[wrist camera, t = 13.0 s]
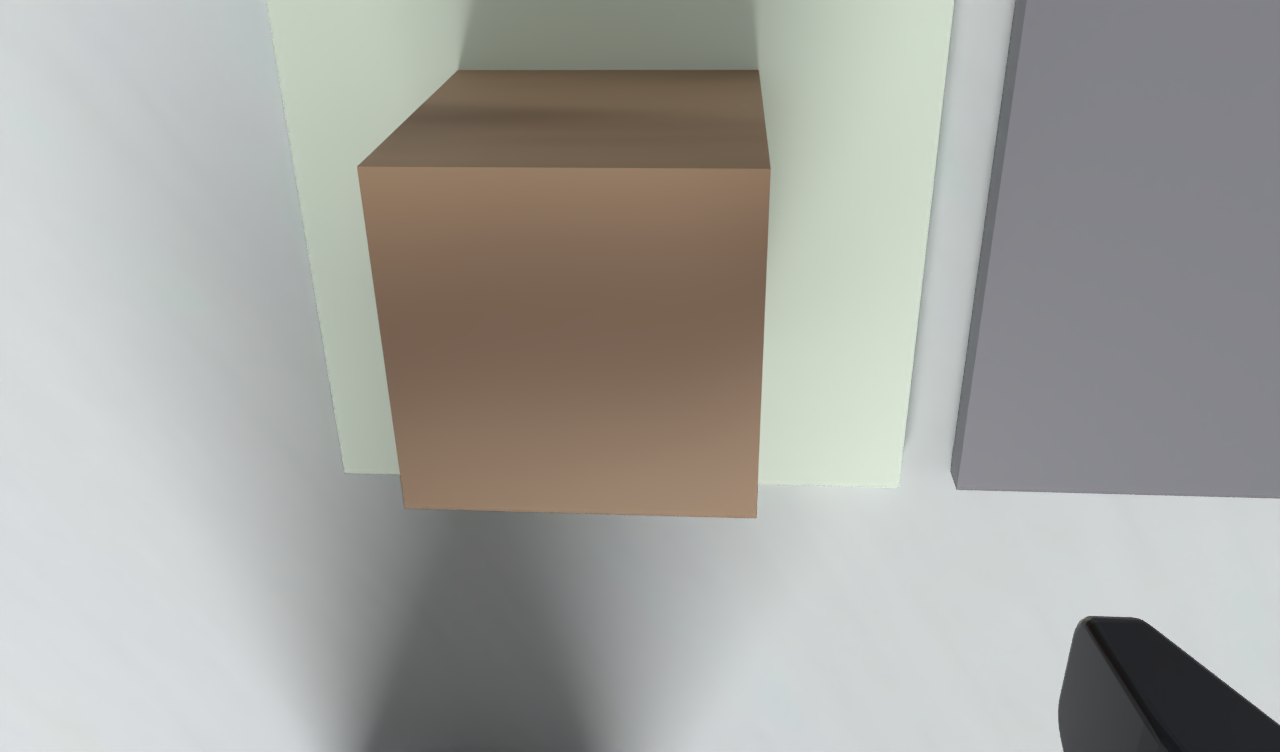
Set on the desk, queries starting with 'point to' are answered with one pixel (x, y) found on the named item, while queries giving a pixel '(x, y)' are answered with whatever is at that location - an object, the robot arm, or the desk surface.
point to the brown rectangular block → (575, 291)
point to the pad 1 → (799, 184)
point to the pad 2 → (1130, 256)
